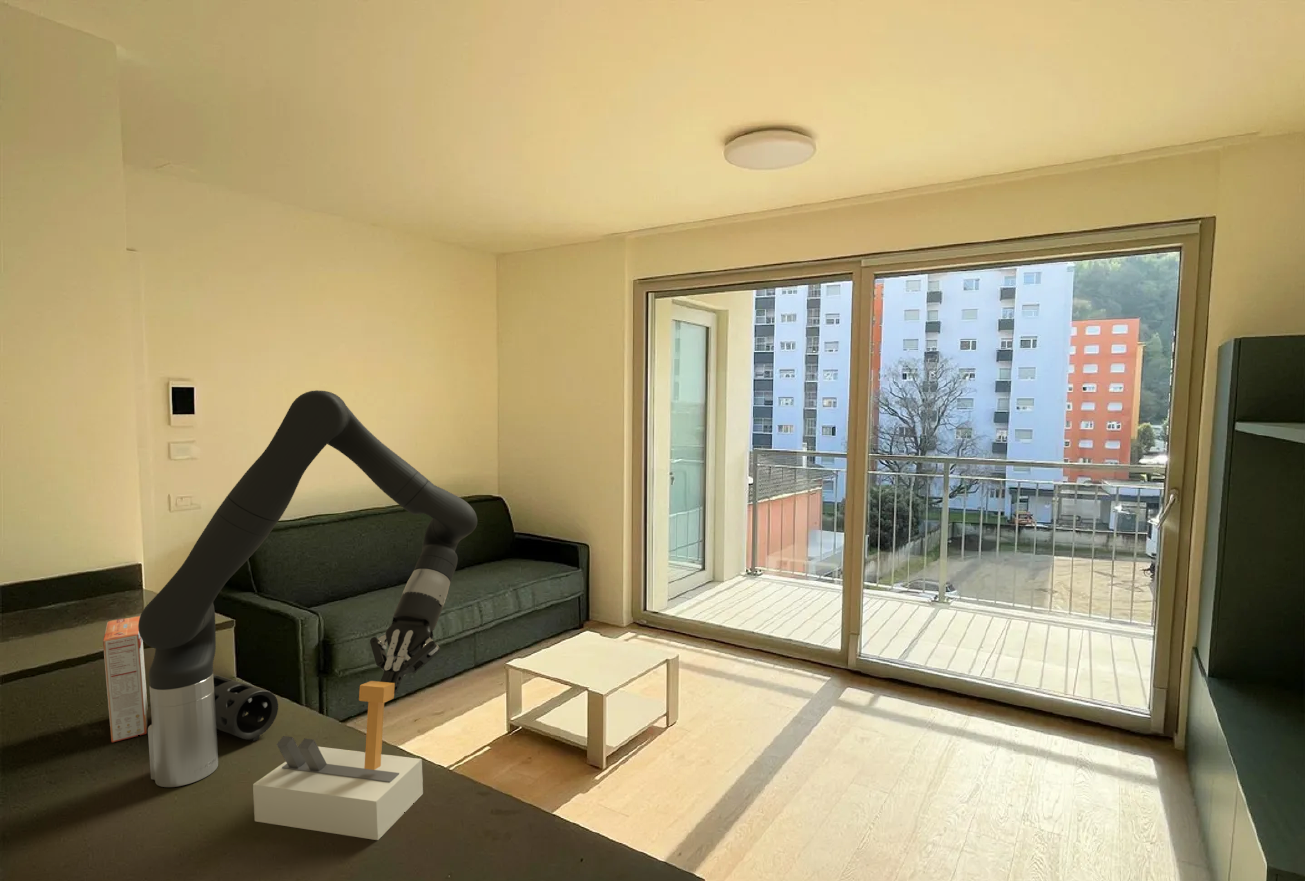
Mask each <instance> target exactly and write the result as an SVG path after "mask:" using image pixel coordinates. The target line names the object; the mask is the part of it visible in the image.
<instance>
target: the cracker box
mask: <svg viewBox="0 0 1305 881" xmlns="http://www.w3.org/2000/svg"><path fill="white" fill-rule="evenodd" d="M139 618H140V615H139V616H138V615H137V616H131V617H127V618H119V619H113V620H109V621H107V623H106V627H105V632H104V636H103V641H102V643H103V656H104V659H103V660H104V669H105V681H106V682H105V683H106V694H107V706H108V716H109V726H110V727H109V728H110V739H111V740H110V741H111V743H115V742H121V741H123V740H124V741H125V740H127V739H131V738H132V739H133V738H134V737H139V736H138V735H140V736H143V735H146V734H148V698H147V697H148V696H147V692H148V691H147V680H146V679H147V678H146V668H145V667H146V666H145V653H144V641H143V640H142V638H141V637H140V634H139V629H138V624H139Z"/></svg>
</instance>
